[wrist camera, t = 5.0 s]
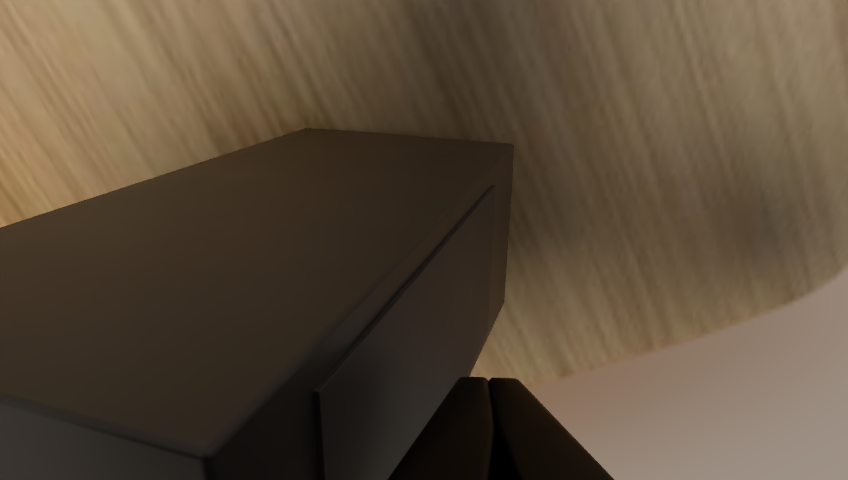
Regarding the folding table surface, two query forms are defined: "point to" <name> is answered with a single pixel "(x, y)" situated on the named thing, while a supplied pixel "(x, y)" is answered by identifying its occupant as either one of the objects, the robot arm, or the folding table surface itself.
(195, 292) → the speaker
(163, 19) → the folding table surface
